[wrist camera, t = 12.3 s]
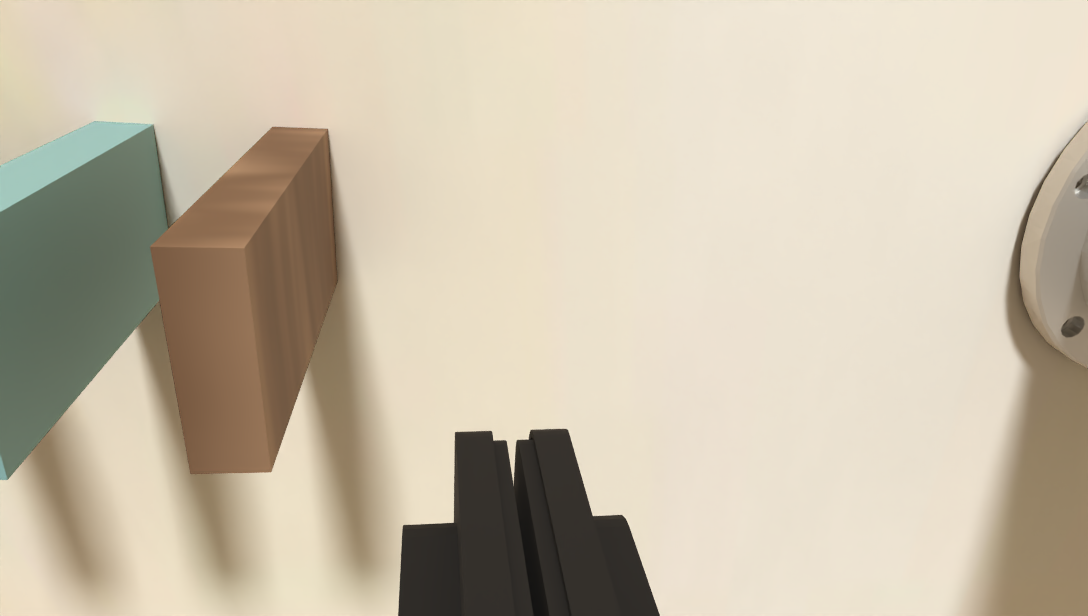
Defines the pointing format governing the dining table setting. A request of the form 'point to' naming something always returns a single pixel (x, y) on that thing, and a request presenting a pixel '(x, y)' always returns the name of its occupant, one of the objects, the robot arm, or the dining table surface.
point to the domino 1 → (72, 270)
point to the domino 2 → (248, 298)
